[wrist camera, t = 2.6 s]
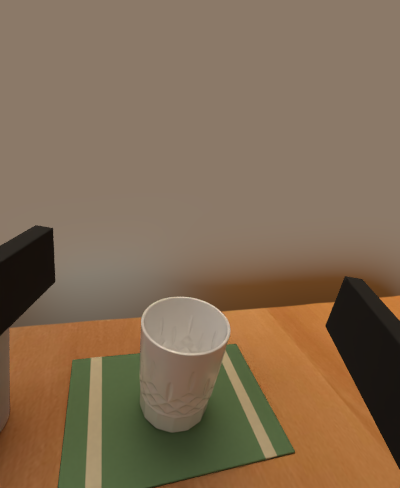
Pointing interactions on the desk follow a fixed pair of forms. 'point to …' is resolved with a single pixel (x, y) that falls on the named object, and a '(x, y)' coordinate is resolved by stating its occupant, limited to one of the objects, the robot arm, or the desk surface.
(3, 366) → the coffee cup
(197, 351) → the white cup
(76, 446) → the cloth
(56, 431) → the desk surface
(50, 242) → the robot arm
